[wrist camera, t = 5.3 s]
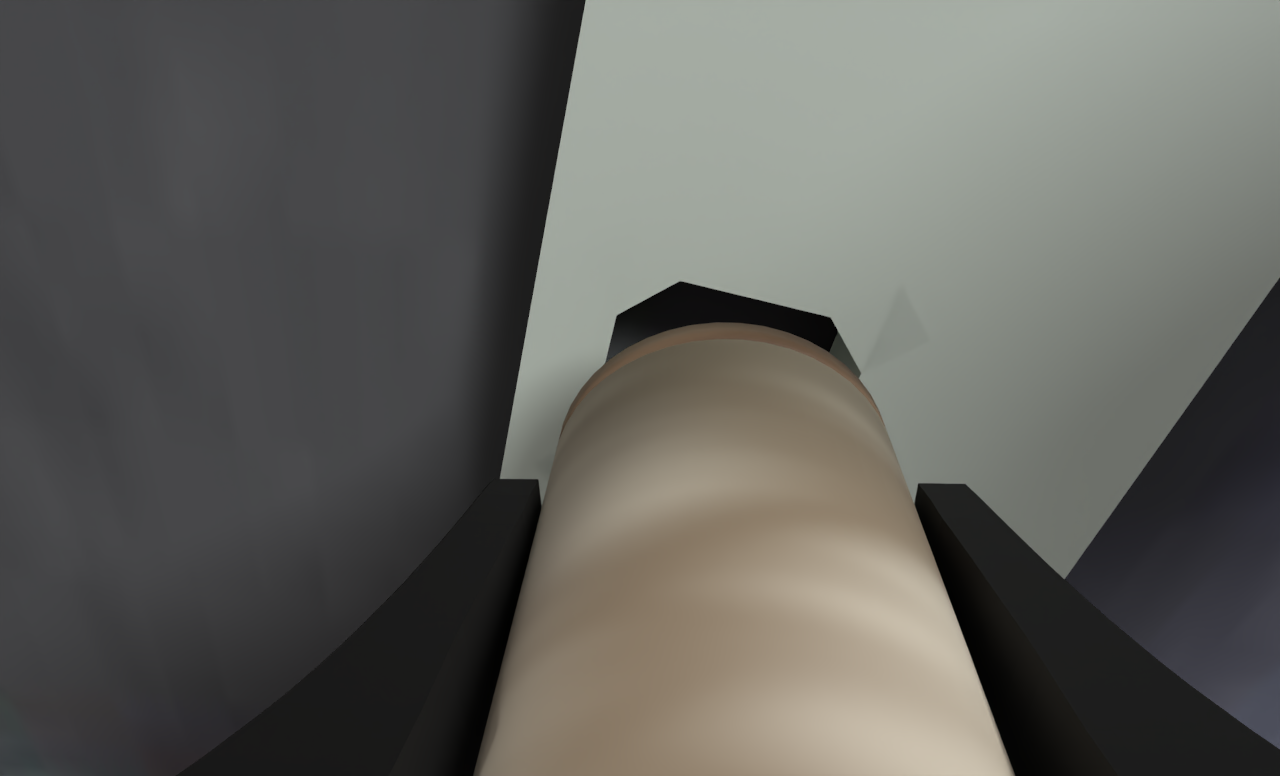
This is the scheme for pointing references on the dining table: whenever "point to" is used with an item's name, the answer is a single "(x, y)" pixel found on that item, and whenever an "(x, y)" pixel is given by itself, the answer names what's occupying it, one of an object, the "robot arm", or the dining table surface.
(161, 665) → the dining table surface
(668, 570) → the peg
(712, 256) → the board
